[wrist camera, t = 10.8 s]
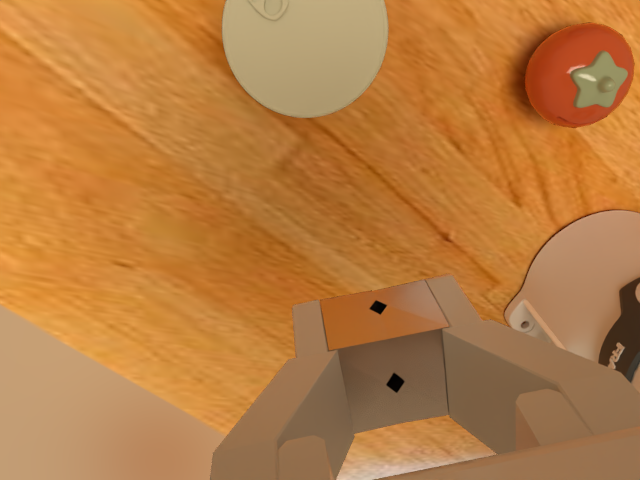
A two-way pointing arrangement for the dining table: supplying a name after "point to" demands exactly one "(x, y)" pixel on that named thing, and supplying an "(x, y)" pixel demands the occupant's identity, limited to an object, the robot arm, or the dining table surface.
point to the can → (305, 51)
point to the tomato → (579, 74)
